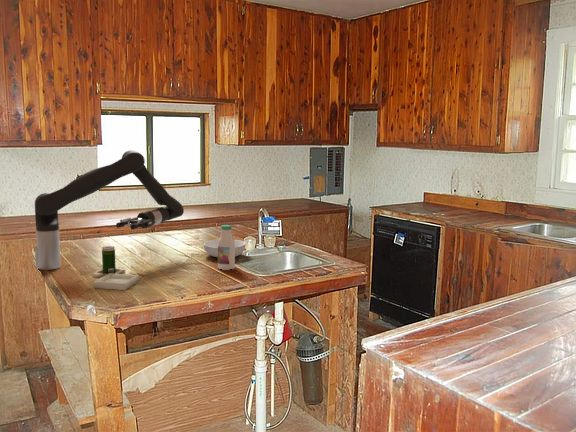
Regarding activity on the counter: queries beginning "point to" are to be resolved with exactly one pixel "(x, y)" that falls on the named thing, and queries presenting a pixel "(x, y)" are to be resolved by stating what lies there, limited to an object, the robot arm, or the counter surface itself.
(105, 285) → the tray
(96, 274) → the collar
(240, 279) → the counter surface
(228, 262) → the milk bottle
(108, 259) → the beer can
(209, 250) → the serving bowl
